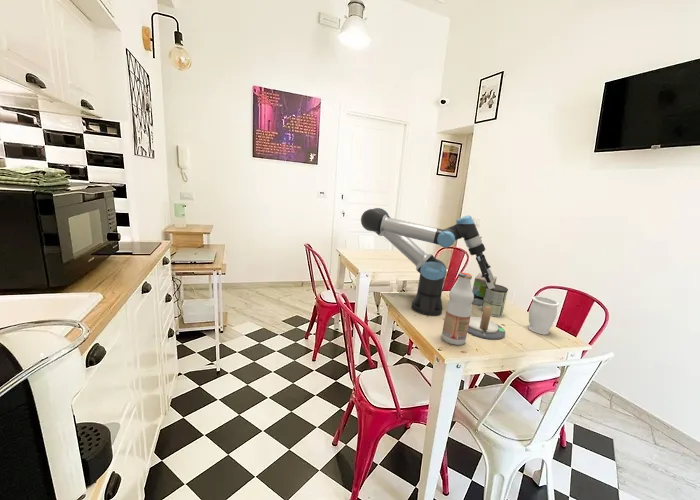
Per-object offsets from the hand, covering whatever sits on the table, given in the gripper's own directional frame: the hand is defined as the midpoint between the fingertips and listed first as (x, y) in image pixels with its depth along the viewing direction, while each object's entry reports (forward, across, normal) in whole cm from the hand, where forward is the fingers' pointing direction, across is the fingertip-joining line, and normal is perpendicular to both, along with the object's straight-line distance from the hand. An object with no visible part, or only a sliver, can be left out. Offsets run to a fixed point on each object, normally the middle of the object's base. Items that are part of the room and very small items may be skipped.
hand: (491, 284), depth 154 cm
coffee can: (+15, +3, +6) cm, 17 cm away
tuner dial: (+10, -23, +9) cm, 27 cm away
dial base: (+12, -22, +10) cm, 27 cm away
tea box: (+13, +17, +11) cm, 24 cm away
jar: (+25, -7, -11) cm, 28 cm away
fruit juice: (+6, -41, +18) cm, 45 cm away
